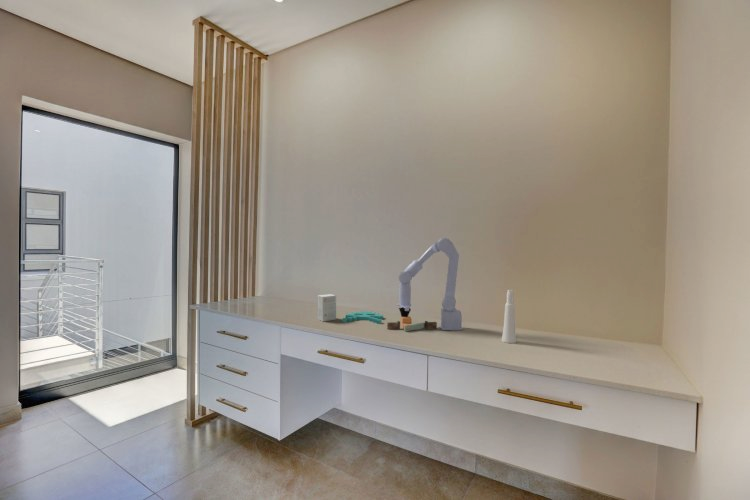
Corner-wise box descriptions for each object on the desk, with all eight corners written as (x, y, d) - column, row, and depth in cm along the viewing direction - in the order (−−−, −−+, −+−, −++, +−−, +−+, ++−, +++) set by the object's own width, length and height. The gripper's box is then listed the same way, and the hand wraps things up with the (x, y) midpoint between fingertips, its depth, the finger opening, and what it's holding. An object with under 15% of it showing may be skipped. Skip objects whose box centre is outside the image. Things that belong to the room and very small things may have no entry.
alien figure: (381, 324, 179) (383, 315, 198) (381, 320, 178) (384, 312, 198) (342, 323, 180) (349, 314, 200) (342, 319, 180) (349, 310, 200)
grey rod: (424, 327, 170) (424, 322, 170) (426, 328, 169) (426, 323, 169) (403, 330, 164) (404, 325, 164) (405, 331, 163) (406, 326, 163)
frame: (435, 327, 171) (436, 320, 171) (436, 329, 169) (437, 321, 169) (387, 328, 169) (387, 321, 169) (387, 329, 167) (387, 322, 167)
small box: (330, 317, 191) (330, 293, 190) (336, 319, 186) (336, 295, 185) (316, 319, 186) (317, 295, 185) (322, 321, 181) (322, 296, 180)
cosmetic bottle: (513, 344, 146) (514, 291, 146) (499, 341, 150) (500, 290, 150) (518, 341, 151) (520, 290, 150) (504, 338, 155) (506, 288, 154)
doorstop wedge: (410, 325, 175) (410, 316, 175) (413, 329, 167) (413, 320, 167) (401, 325, 175) (401, 316, 174) (404, 330, 167) (404, 320, 167)
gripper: (395, 293, 182) (394, 318, 183) (399, 297, 168) (398, 326, 168) (408, 293, 183) (408, 318, 183) (413, 297, 168) (413, 325, 169)
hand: (404, 322), depth 176 cm, fingers closed
